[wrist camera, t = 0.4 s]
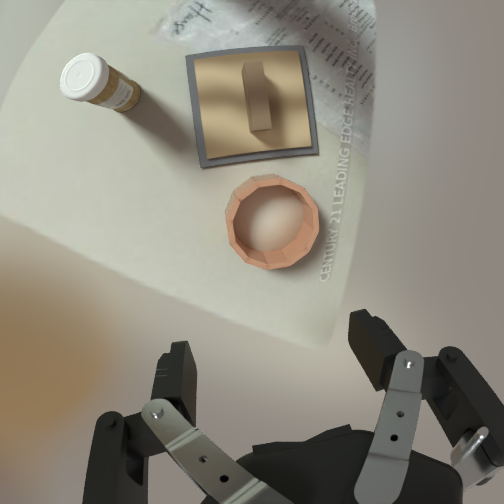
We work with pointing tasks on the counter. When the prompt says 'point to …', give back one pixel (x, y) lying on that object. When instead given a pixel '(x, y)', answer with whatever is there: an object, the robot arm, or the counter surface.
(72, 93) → the sprinkles bottle
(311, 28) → the counter surface
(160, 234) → the counter surface
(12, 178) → the counter surface
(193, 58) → the rubber mat
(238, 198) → the terracotta ring
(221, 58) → the board
